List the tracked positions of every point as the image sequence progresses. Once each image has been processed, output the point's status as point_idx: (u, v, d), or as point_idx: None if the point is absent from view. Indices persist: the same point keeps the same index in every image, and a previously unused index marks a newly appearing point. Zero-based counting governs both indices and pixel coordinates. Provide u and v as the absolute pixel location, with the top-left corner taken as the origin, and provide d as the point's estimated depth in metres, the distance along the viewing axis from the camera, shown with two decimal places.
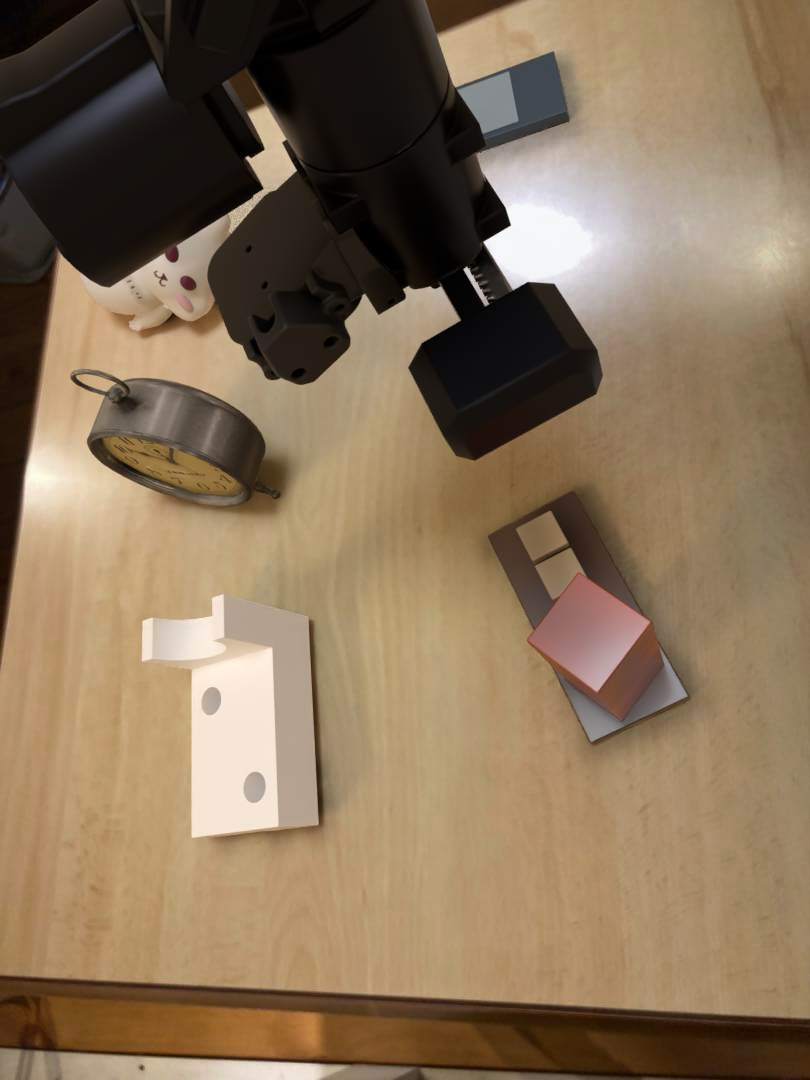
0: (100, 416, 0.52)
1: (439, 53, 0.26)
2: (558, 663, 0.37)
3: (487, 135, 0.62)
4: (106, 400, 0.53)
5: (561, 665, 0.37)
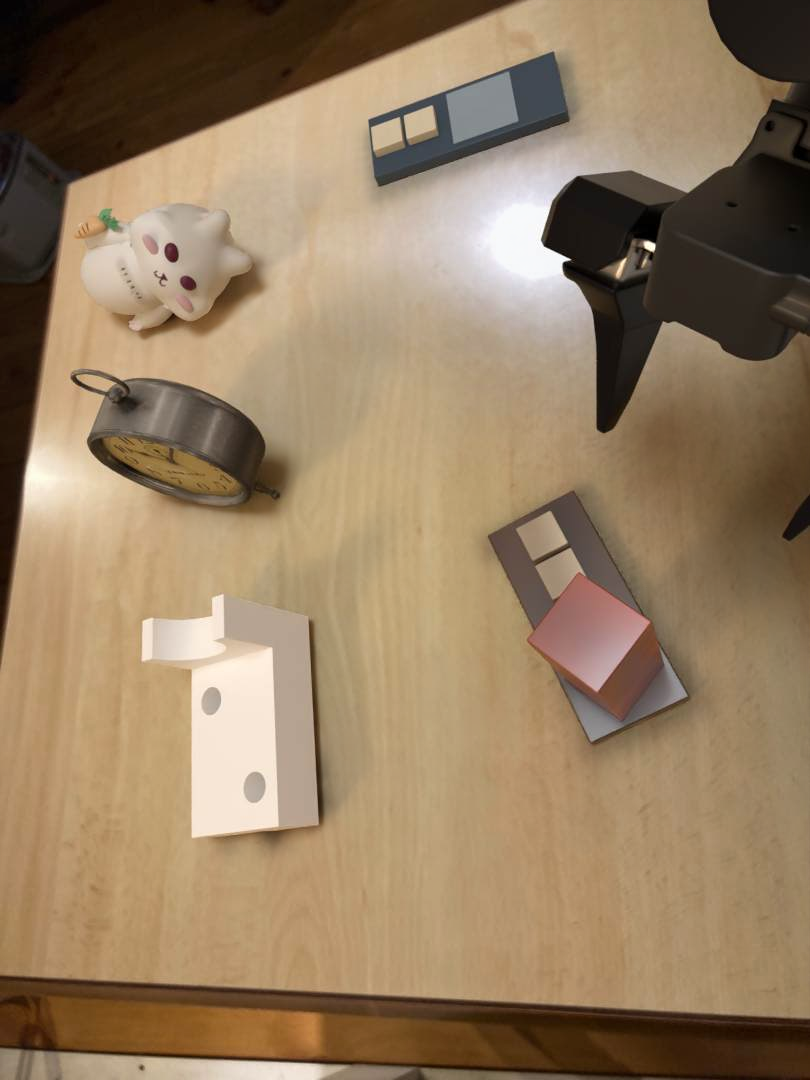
0: (100, 416, 0.52)
1: None
2: (558, 663, 0.37)
3: (487, 135, 0.62)
4: (106, 400, 0.53)
5: (561, 665, 0.37)
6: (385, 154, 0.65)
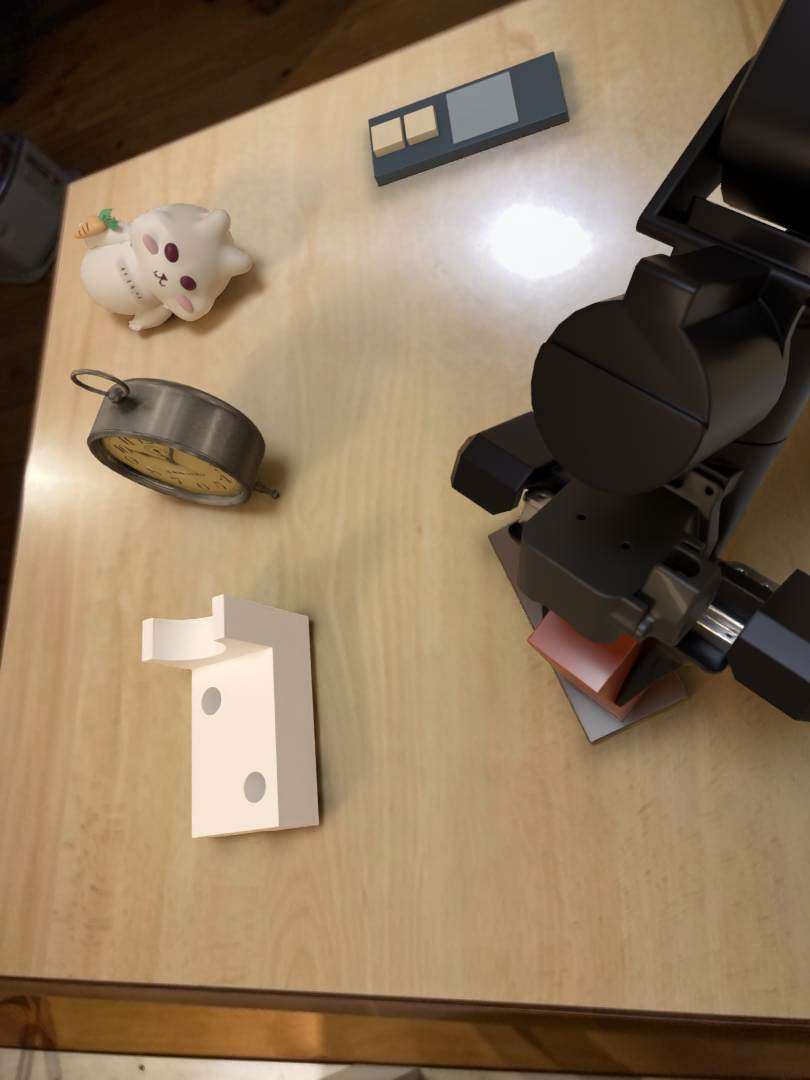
0: (100, 416, 0.52)
1: None
2: (558, 663, 0.37)
3: (487, 135, 0.62)
4: (106, 400, 0.53)
5: (561, 665, 0.37)
6: (385, 154, 0.65)
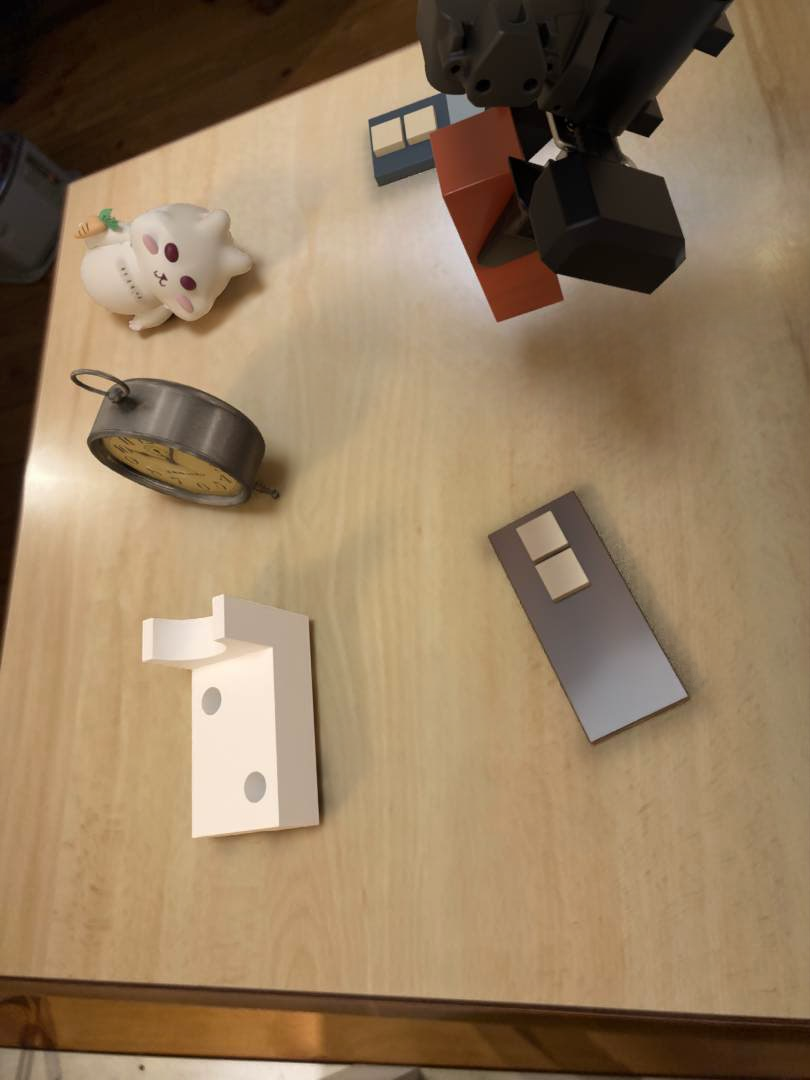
0: (100, 416, 0.52)
1: None
2: (435, 161, 0.40)
3: None
4: (106, 400, 0.53)
5: (436, 163, 0.40)
6: (385, 154, 0.65)
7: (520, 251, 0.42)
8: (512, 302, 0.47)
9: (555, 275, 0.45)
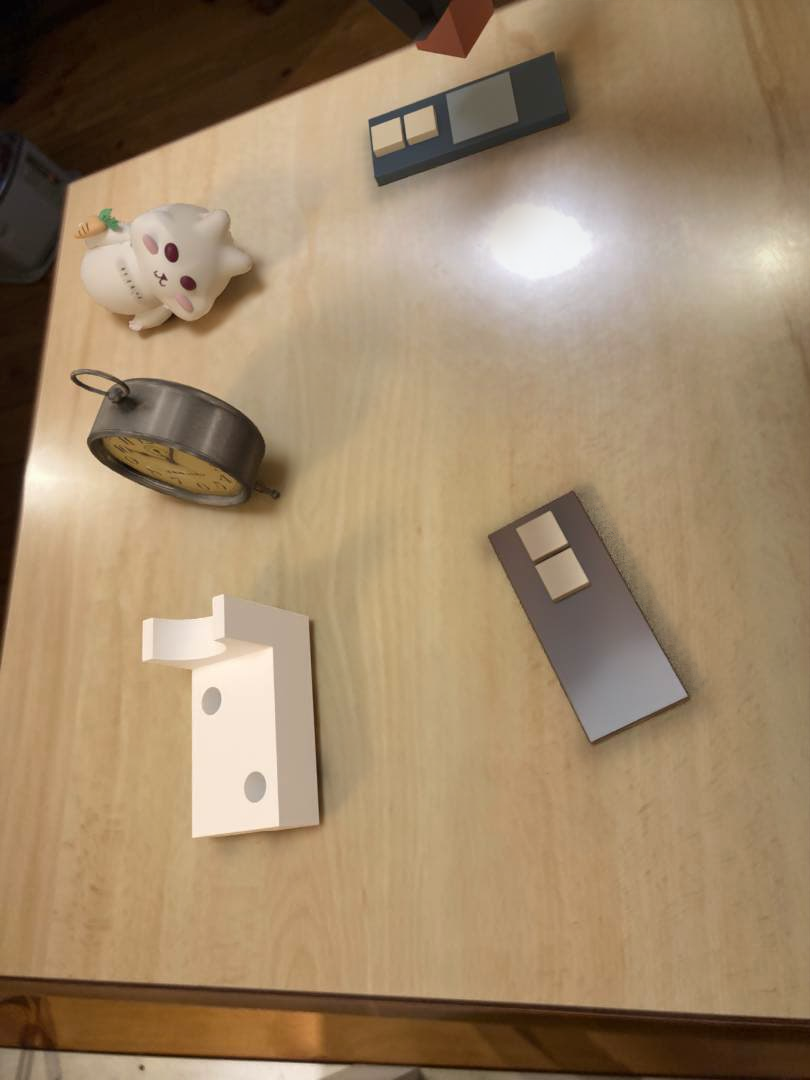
0: (100, 416, 0.52)
1: None
2: None
3: (487, 135, 0.62)
4: (106, 400, 0.53)
5: None
6: (385, 154, 0.65)
7: None
8: None
9: (454, 26, 0.54)
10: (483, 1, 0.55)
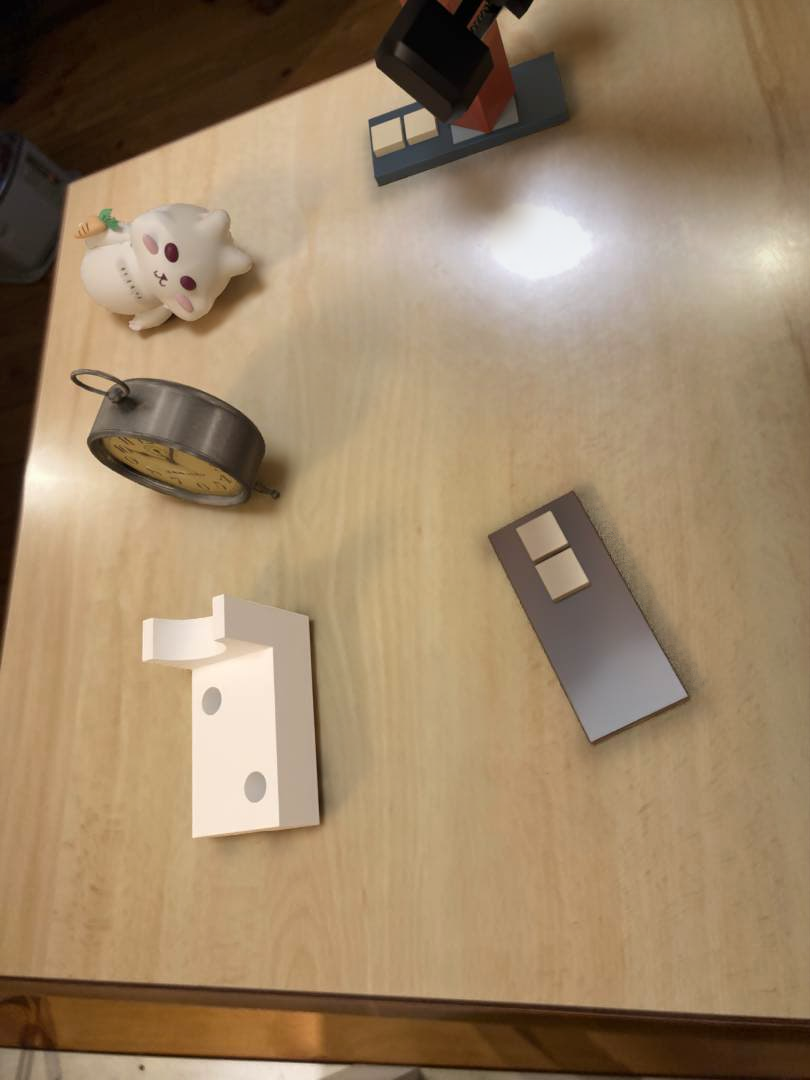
0: (100, 416, 0.52)
1: None
2: None
3: (487, 135, 0.62)
4: (106, 400, 0.53)
5: None
6: (385, 154, 0.65)
7: None
8: None
9: (480, 107, 0.60)
10: (506, 83, 0.61)
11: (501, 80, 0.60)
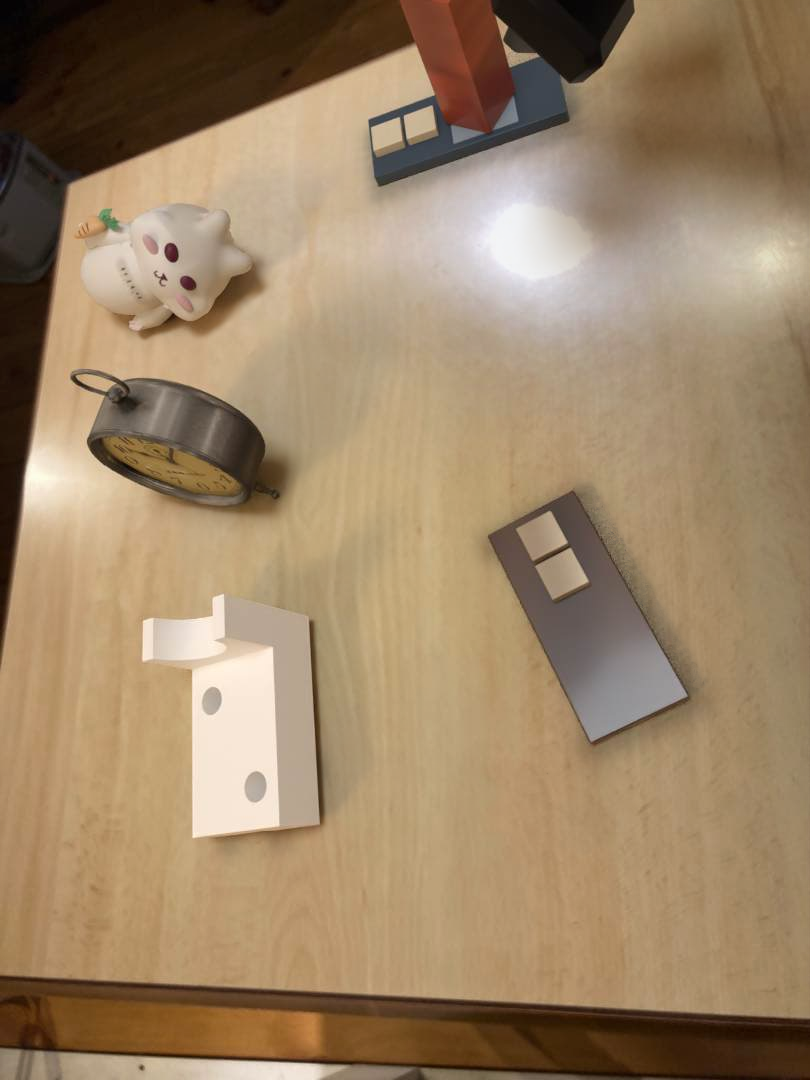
0: (100, 417, 0.52)
1: None
2: None
3: (487, 135, 0.62)
4: (106, 400, 0.53)
5: None
6: (385, 154, 0.65)
7: None
8: (454, 112, 0.62)
9: (480, 107, 0.60)
10: (506, 83, 0.61)
11: (501, 80, 0.60)
